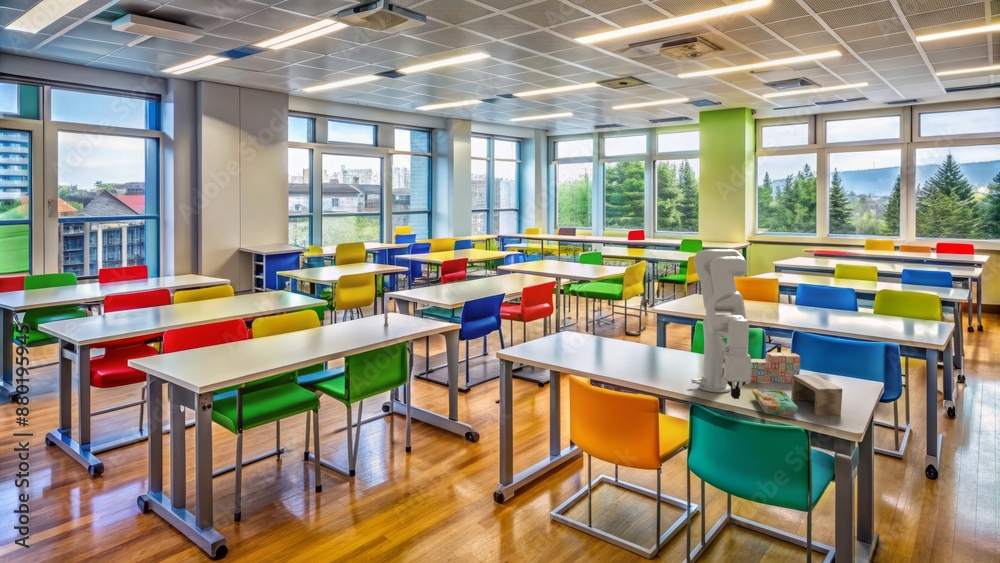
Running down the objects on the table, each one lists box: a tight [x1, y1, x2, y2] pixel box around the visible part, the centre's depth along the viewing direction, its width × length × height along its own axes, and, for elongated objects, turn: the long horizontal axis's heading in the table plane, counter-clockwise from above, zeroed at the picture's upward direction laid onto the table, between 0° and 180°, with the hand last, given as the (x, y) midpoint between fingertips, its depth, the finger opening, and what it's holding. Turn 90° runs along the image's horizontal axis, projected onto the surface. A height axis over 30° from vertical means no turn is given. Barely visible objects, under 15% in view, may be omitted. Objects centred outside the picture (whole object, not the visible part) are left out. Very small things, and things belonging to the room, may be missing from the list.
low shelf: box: [790, 374, 843, 416], centre depth 230 cm, size 9×19×10 cm, turn 0°
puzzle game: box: [752, 389, 799, 416], centre depth 231 cm, size 12×5×20 cm
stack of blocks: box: [750, 352, 801, 384], centre depth 265 cm, size 21×6×12 cm, turn 88°
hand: (735, 398), depth 230 cm, fingers closed
